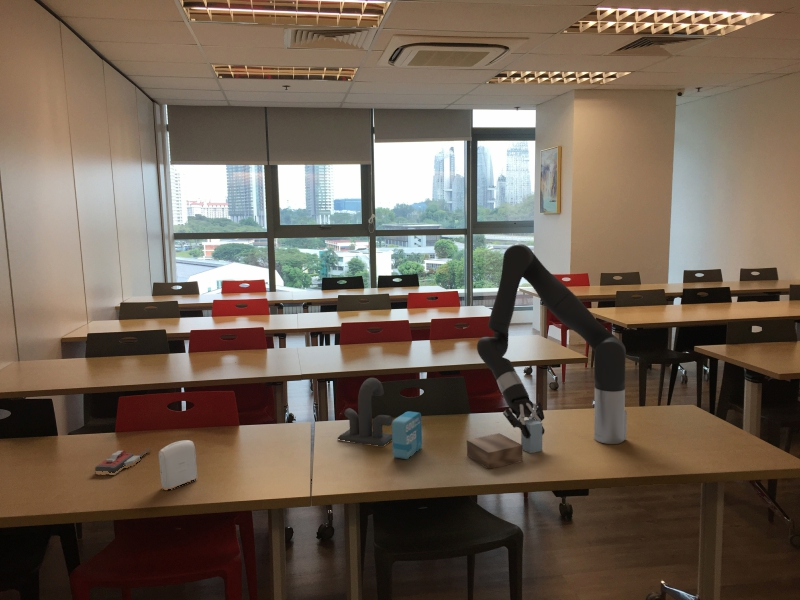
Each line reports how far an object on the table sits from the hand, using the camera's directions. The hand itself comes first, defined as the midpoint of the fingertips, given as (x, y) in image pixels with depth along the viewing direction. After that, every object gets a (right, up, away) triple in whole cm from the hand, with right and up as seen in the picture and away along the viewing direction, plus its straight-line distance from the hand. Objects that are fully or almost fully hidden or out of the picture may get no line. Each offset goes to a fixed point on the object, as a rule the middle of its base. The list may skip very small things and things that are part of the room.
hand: (535, 435), depth 192 cm
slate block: (-1, -5, +2) cm, 6 cm away
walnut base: (-13, -6, -4) cm, 15 cm away
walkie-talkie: (-128, -10, +1) cm, 128 cm away
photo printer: (-105, -11, -16) cm, 106 cm away
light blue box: (-40, -6, +3) cm, 40 cm away
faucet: (-52, -5, +19) cm, 55 cm away
